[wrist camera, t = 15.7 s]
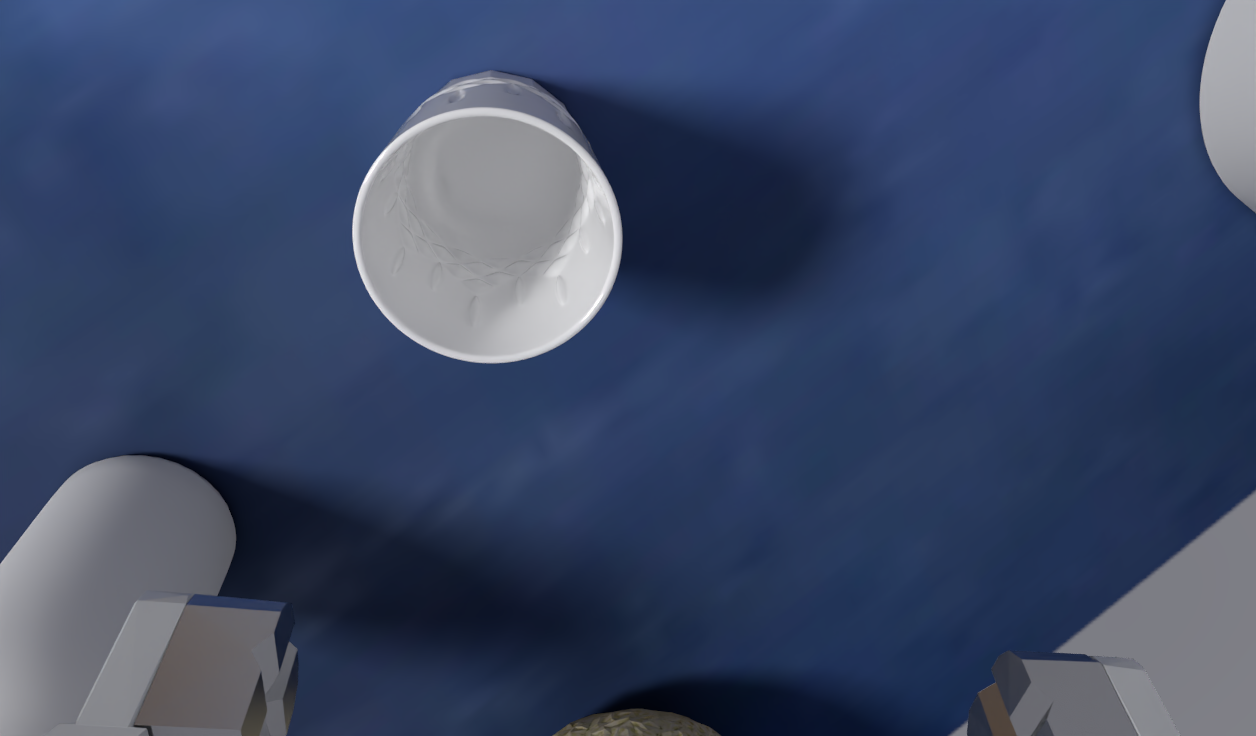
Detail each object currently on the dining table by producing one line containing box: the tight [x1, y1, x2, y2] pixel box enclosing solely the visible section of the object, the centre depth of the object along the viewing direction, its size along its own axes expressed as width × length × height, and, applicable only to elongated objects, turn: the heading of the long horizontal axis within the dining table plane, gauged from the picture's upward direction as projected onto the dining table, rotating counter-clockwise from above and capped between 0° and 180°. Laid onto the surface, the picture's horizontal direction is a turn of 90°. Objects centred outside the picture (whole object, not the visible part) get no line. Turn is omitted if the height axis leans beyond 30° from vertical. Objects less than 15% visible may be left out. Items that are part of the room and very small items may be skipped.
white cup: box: [353, 70, 622, 363], centre depth 33 cm, size 8×8×10 cm
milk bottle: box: [0, 455, 236, 736], centre depth 34 cm, size 8×8×20 cm
